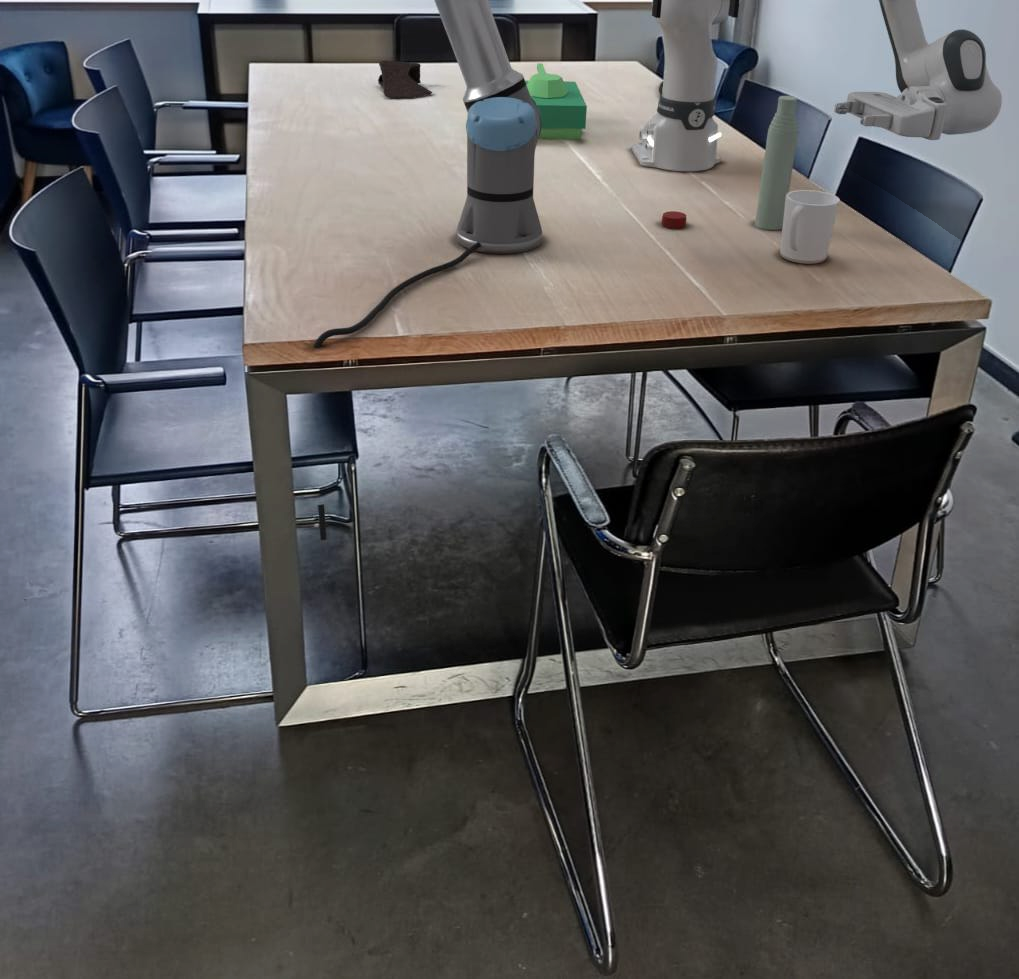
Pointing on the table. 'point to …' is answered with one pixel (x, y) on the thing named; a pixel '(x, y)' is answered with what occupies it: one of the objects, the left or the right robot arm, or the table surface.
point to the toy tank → (558, 106)
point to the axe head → (401, 79)
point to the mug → (808, 225)
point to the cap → (674, 220)
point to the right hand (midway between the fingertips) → (849, 114)
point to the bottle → (777, 165)
